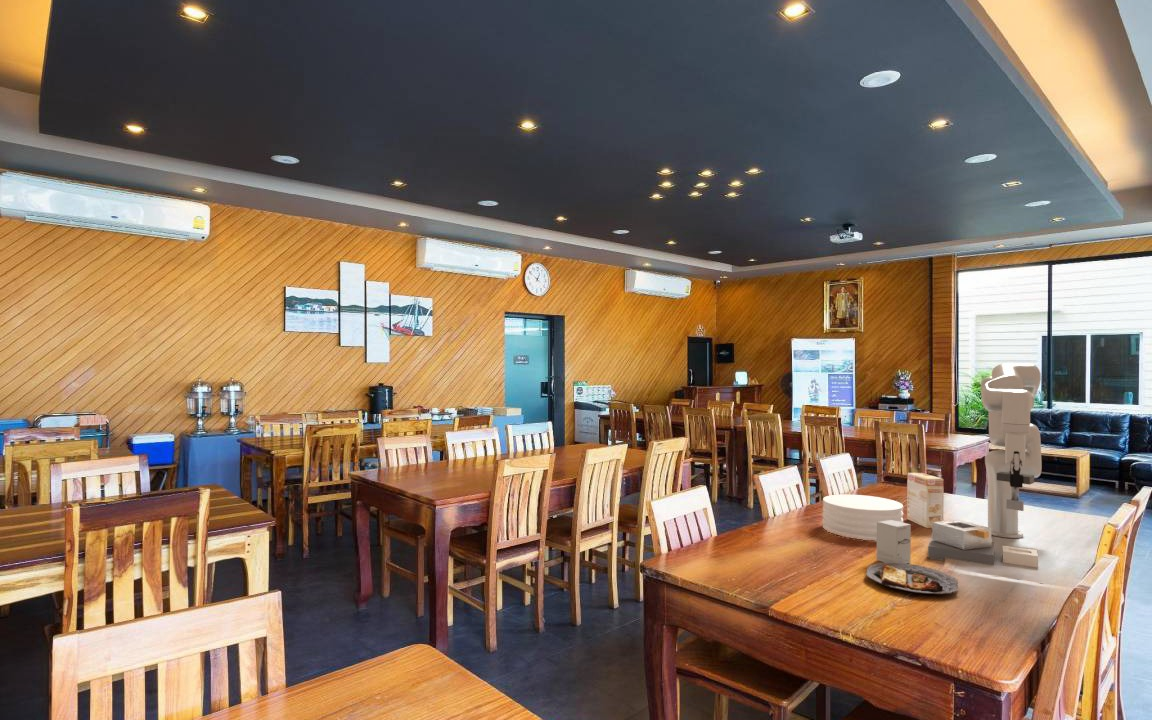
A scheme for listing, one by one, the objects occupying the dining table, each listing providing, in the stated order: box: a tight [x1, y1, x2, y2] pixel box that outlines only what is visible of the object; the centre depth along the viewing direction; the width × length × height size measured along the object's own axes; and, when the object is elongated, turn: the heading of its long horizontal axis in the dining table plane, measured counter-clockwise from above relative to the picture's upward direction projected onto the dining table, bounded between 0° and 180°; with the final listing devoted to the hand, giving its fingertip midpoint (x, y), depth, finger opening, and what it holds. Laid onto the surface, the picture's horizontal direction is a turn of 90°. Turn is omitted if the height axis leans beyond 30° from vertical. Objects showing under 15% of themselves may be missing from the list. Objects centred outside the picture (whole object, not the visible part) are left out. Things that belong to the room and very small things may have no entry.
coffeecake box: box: [906, 472, 945, 529], centre depth 252 cm, size 15×7×20 cm, turn 179°
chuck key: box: [997, 471, 1035, 512], centre depth 201 cm, size 5×9×11 cm, turn 40°
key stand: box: [1002, 545, 1039, 568], centre depth 200 cm, size 8×9×4 cm
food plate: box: [865, 562, 959, 596], centre depth 181 cm, size 25×23×4 cm
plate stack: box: [822, 493, 904, 542], centre depth 240 cm, size 28×28×12 cm
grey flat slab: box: [927, 536, 995, 566], centre depth 209 cm, size 18×18×4 cm
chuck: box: [931, 519, 992, 550], centre depth 207 cm, size 15×12×6 cm
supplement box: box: [876, 520, 912, 564], centre depth 202 cm, size 7×7×13 cm
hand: (1015, 484), depth 201 cm, fingers closed on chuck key, 5 cm apart
